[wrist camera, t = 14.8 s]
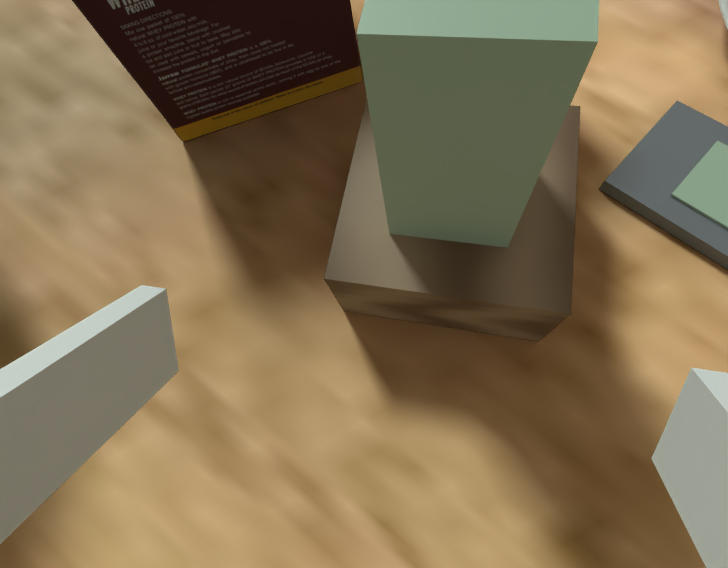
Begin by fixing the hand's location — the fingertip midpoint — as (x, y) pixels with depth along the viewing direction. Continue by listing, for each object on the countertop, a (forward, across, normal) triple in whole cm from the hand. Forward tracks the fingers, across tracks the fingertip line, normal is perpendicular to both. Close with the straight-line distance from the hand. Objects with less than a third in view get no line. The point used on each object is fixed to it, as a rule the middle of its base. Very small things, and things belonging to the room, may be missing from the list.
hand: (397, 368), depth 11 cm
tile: (+22, +17, +1) cm, 28 cm away
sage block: (+14, +1, +2) cm, 14 cm away
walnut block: (+19, +1, -2) cm, 19 cm away
